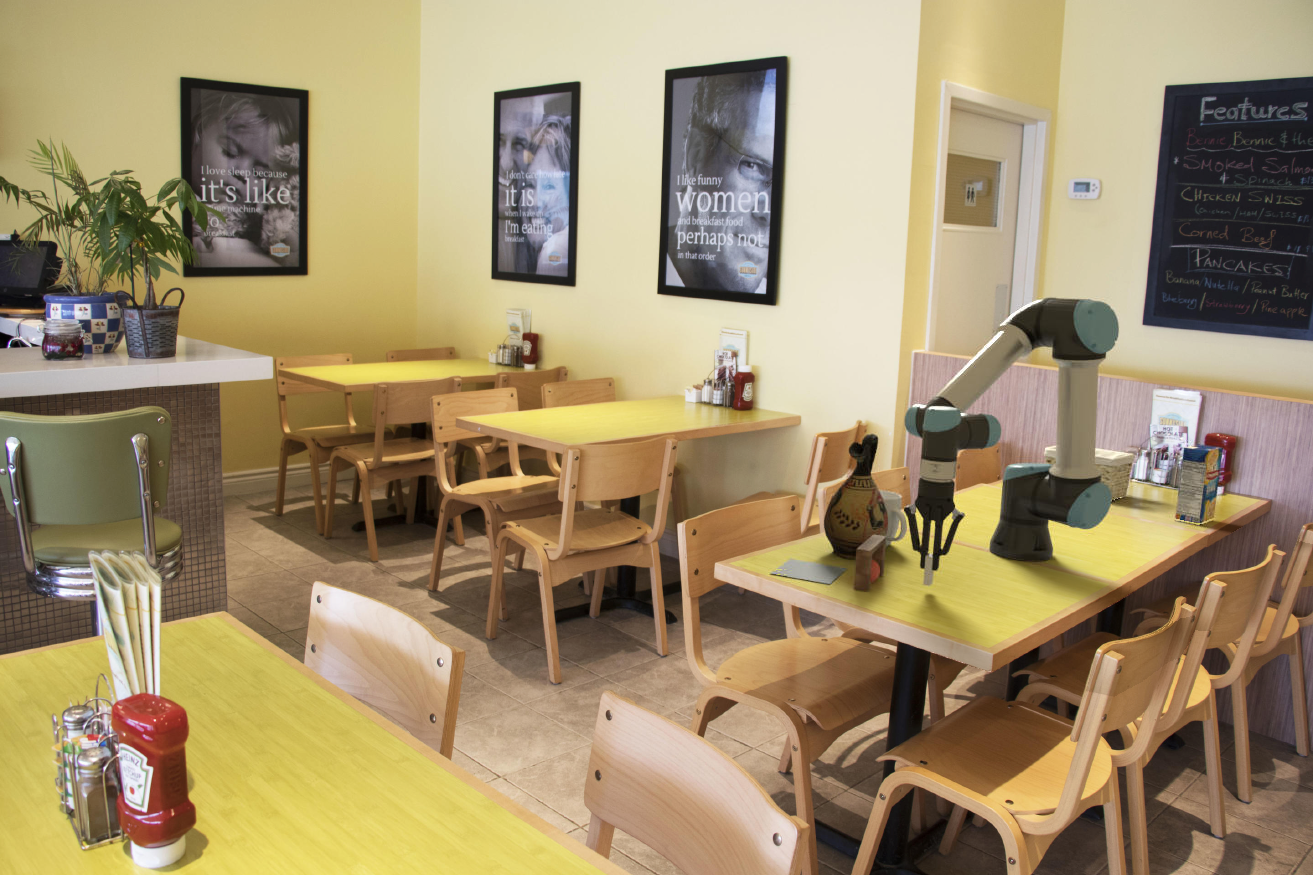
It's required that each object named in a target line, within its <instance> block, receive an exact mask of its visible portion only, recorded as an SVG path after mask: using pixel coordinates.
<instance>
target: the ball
mask: <svg viewBox="0 0 1313 875" xmlns="http://www.w3.org/2000/svg"><path fill="white" fill-rule="evenodd" d="M879 574H880V567H879V565H878V563H877V562H876V561H875V560H873V559H872V563H871V576H870V584H871V583H873V582H875V581H876V580H877V579H878V578H880V577H879Z"/></svg>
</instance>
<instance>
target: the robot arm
mask: <svg viewBox="0 0 1313 875" xmlns="http://www.w3.org/2000/svg"><path fill="white" fill-rule="evenodd" d="M1119 328H1120V325H1119V319H1118V317H1117V314H1116V312H1115V310H1114V309H1113V308H1112V307H1111V306H1110V305H1109V304H1108V303H1106V302H1105V301H1099V300H1092V299H1090V298H1089V299H1088V298H1087V299H1086V298H1059V297H1058V298H1057V297H1045V298H1040V299H1037V300H1034V301H1032V302H1030V303H1028V304H1026V305H1024V306H1022V307H1021V308H1019V309H1018V310H1017V311H1015V312H1013V313H1012V314H1011V315H1009V316H1008V317H1007V318H1006V319H1005V320H1004V321H1003V322H1001V324H999V326H998V327H997V328H996V331H995V335H994V337H993V338H992V339H991V340H989V342H987V344H986V345H985V346H984V347H983V348H982V349H980V351H979V352H978V353H977V354H976V355H975V356H974V357H973V358H971V359H970V360H969V362H968V363H966V364H965V365H964V366H963V368H962V369H960V371H958V372H957V373H956V374H955V375H954V376H953V377H952V378H951V379H950V380H949V381H948V382H947V384H945V385H944V386H943V387H942V388H941V389H940V390H939V391H938V392H937V393H936V394H935V395H934V396H933V397H932V398H931V399H930V400H929V401H928V402H927V403H926V404H924V403H921V404H920V403H916V404H914V405H911V406H910V407H909V408H908V409H907V410H906V413H905V416H904V427H905V429H906V431H907V433H908V434H910V435H912V436H915V437H917V438H920V439H922V440H921V451H920V453H921V455H920V462H919V476H920V478H918V487H917V488H918V489H917V497H916V498H915V500H914V503H912V504H907V505H906V506H905V507H903V513H904V515H905V517H907V522H908V527H909V533H910V540H911V546H912V550H913V551H915V552H918V553H919V554H920V561H919V562H920V563H919V568H920V569H923V570H924V571H923V582H922V583H923V584H922V585H923V586H928V587H931V585H933V582H934V572H937V571H938V570H939V567H940V558H941V556H946V555H948V553H949V552H950V549H951V547H952V544H953V541H954V539H955V536H956V533H957V530H958V527H959V524H960V522H961V521H962V520H964V518H965V516H966V515H965V513H964V512H963V511H959V510H958V509H957V508H956V504H955V502H954V501H955V500H954V497H955V484H956V482H955V481H954V479H956V476H957V475H956V474H957V463H958V452H959V451H964V450H983V449H987V448H992V447H994V446H996V445H997V444H998V443H999V441H1000V439H1001V436H1002V426H1001V423H1000V420H998V418H997V417H996V416H994V415H992V414H990V413H989V414H985V413H978V414H973V413H967V411H968V410H969V409H970V407H972V406H973V405H974V404H975V403H976V402H977V401H978V400H979V399H980V398H981V397H982V396H983V395H984V394H985V393H986V392H987V391H988V389H990V388H991V387H992V385H993V384H995V383H996V382H997V381H998V380H999V379H1000V378H1001V377H1002V375H1004V373H1005V372H1007V371H1008V370H1009V369H1010V367H1011V366H1013V365H1014V363H1016V361H1017V360H1019V359H1020V358H1023V357H1027V356H1028V355H1030V353H1032V352H1033V351H1034V350H1036V349H1038V348H1044V347H1046V348H1052V349H1051V353H1052V354H1051V359H1052V360H1053V361H1054V362H1055V363H1056V364H1057V365H1058V374H1057V375H1058V376H1057V377H1058V379H1057V380H1058V382H1057V409H1056V410H1057V412H1056V413H1057V415H1056V416H1057V417H1056V445H1055V446H1056V464H1055V465H1054V466H1053V465H1051V464H1045V462H1043V463H1042V462H1041V463H1040V462H1037V463H1036V462H1023V463H1022V462H1020V463H1019V462H1018V463H1012V464H1009V465H1006V467H1005V469H1004V474H1003V479H1002V487H1001V488H1002V489H1001V500H1000V509H999V510H1000V513H999V520H998V523H997V525H996V528H995V530H994V532H993V534H992V536H991V538H990V542H989V551H990V552H991V553H993V554H994V555H997V556H1000V557H1004V558H1006V559H1012V560H1019V561H1027V562H1043V561H1048V560H1051V559H1053V554H1054V546H1053V542H1052V538H1051V534H1050V533H1051V532H1050V529H1049V521H1050V522H1051V521H1052V522H1055V523H1057V524H1060V525H1061V524H1062V525H1065V526H1069V528H1075V529H1081V530H1090V529H1093V528H1096V527H1097V526H1098V525H1100V523H1101V522H1102V521H1103V520H1104V519H1105V518H1106V516H1107V515H1108V513H1109V511H1110V508H1111V505H1112V501H1111V500H1112V494H1111V490H1110V489H1109V487H1108V486H1107V485H1106V484H1104V483H1101V471H1100V470H1099V469H1098V468H1097V467H1096V466H1095V448H1096V443H1097V442H1096V440H1097V439H1096V438H1097V417H1098V414H1097V412H1098V411H1097V410H1098V393H1099V392H1098V388H1099V385H1098V384H1099V366H1100V364H1101V363H1103V362H1104V360H1106V359H1107V352H1110V351H1111V350H1112V349H1114V347H1115V345H1116V342H1117V341H1118V338H1119V333H1120V329H1119ZM917 511H918V512H919V514H920V517H922V533H921V541H920V535H919V533H920V532H919V527H918V521H917V515H916V513H917ZM951 514H952V516H951V519H952V520H953V521H952V522H951V524H950V527H949V530H948V533H947V535H946V538H945V541H944V543H943V544H944V545H943V547H942V542H943V541H942V539H943V527H944V521H945V520H946V519H947V518H948V517H949V516H950V515H951ZM932 522H934V534H933V548H932V552H931V553H929V551H930V549H929V548H930V538H931V537H930V536H931V527H932Z"/></svg>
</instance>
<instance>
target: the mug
mask: <svg viewBox="0 0 1313 875" xmlns="http://www.w3.org/2000/svg"><path fill="white" fill-rule="evenodd" d="M879 492H880V493H881V496H882V498H883V500H884V502H885V505H886V509H887V513H888V530H887V534H886V547H888V546H890V545H891V544H892V542H899V541H901V540H903V539H904V538H905V536H906V534H907V529H908V524H907V522H908V521H907V518H906V514H905V513H904V511H902V498H903V497H902V495H901V494H900V493H897V492H893V491H889V490H882V489H879ZM899 525H900V526H899ZM899 527H900V530H899V534H898V536H897V537H896V534H897V533H898V529H899Z"/></svg>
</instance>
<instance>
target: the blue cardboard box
mask: <svg viewBox="0 0 1313 875" xmlns="http://www.w3.org/2000/svg"><path fill="white" fill-rule="evenodd" d="M1223 450H1224V447H1219V446H1212V445H1211V446H1210V445H1205V444H1195V445H1191V446H1190V445H1189V446H1185V447H1183V454H1182V460H1181V470H1180V476H1179V483H1178V484H1179V486H1178V491H1177V492H1178V493H1177V500H1176V507H1175V508H1176V509H1175V514H1174V515H1175V516H1174V519H1175V518H1176V519H1180V520H1184V521H1189V522H1194V523H1202V522H1204V521H1207V520H1209V519H1212V518H1214V519H1215V513H1216V512H1215V510H1216V504H1217V496H1218V489H1219V488H1218V487H1219V481H1220V473H1221V466H1222V458H1223Z"/></svg>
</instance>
